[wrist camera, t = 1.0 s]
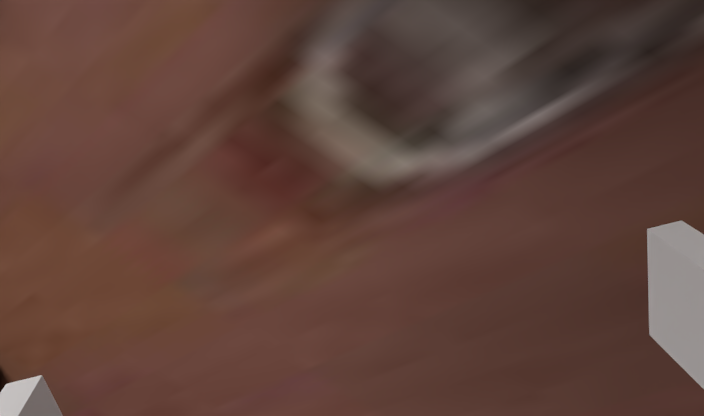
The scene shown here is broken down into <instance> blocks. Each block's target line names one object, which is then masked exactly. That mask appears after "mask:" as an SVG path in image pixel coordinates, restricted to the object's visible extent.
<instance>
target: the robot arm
mask: <svg viewBox="0 0 704 416" xmlns="http://www.w3.org/2000/svg"><path fill="white" fill-rule="evenodd" d="M647 252H648V299H649V335H650V336H651V337H652V338H653V339H654V340H655V341H656V342H657V343H658V344H659V345H660V346H661V347H662V348H663V349H664V350H665V351H666V352H667V353H668V354H669V355H670V356H671V357H672V358H673V359H674V360H675V361H676V362H677V363H678V364H679V365H680V366H681V367H682V368H683V369H684V370H685V371H686V372H687V373H688V374H689V375H690V376H691V377H692V378H693V379H694V380H695V381H696V382H697V383H698V384H699V385H700V386H701V387H702V388H703V389H704V234H702V233H701V232H699V231H697V230H696V229H694V228H693V227H691V226H690V225H688V224H686V223H685V222H683V221H682V220H681V221H677V222H673V223H669V224H665V225H661V226H657V227H653V228H648V229H647ZM0 416H63V415H62V413H61V411H60V409H59V407H58V405H57V403H56V401H55V399H54V397H53V395H52V394H51V392H50V390H49V388H48V386H47V384H46V382H45V380H44V378H43V376H42V375H41V376H37V377H32V378H28V379H24V380H20V381H16V382H12V383H8V384H6V385H5V386H4V388H3V389H2V391H1V392H0Z"/></svg>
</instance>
